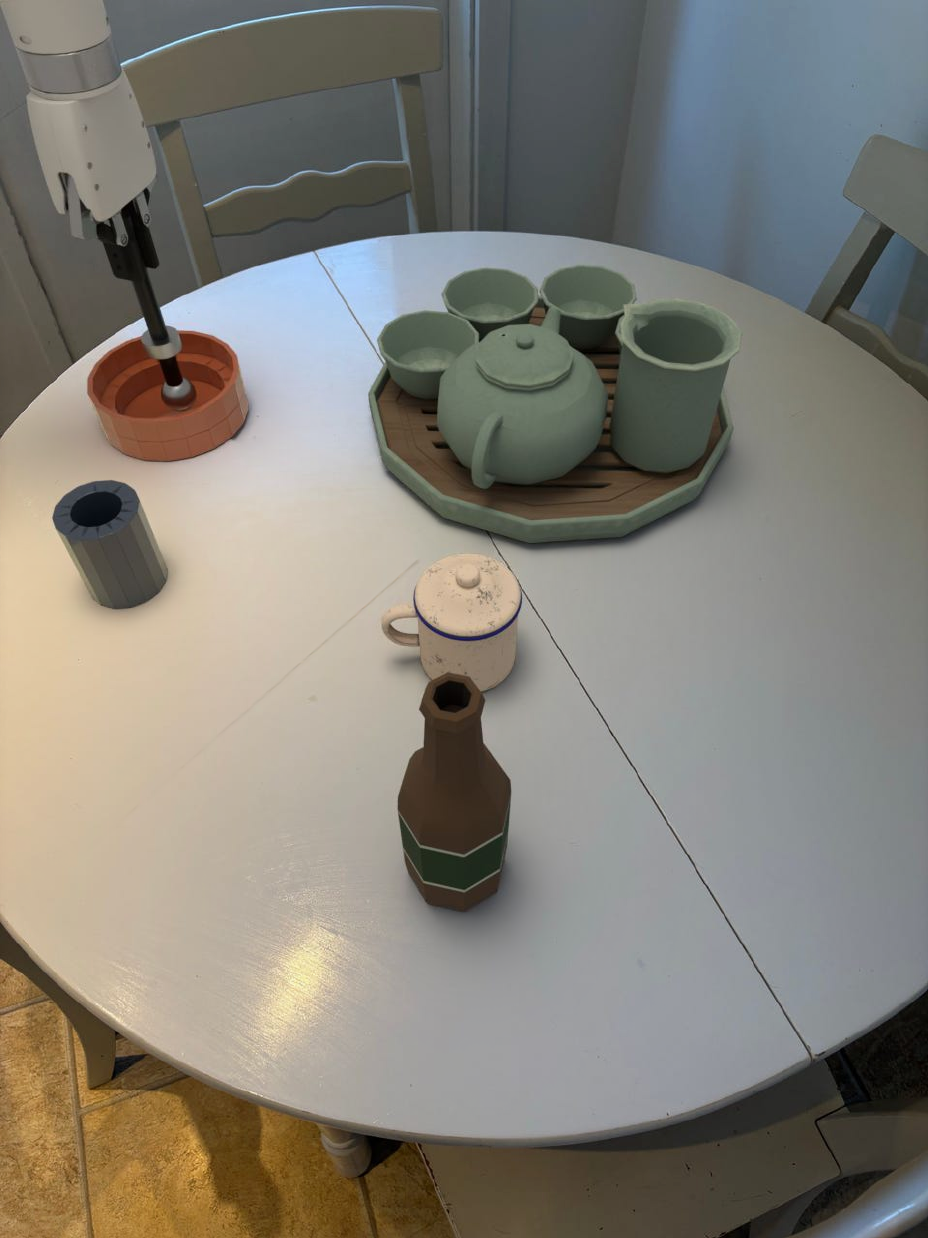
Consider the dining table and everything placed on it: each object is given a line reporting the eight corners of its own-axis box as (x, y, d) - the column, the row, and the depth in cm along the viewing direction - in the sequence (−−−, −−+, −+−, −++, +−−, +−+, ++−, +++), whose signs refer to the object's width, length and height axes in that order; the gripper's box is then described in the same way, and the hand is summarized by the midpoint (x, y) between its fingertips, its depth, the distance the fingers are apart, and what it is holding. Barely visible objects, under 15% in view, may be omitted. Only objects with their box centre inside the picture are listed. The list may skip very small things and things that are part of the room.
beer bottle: (446, 801, 72) (438, 618, 53) (526, 854, 69) (548, 681, 50) (385, 876, 68) (353, 708, 49) (468, 936, 65) (468, 782, 46)
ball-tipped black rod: (159, 409, 99) (90, 218, 82) (185, 392, 101) (123, 201, 84) (181, 423, 98) (115, 230, 81) (207, 405, 100) (149, 213, 82)
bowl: (75, 423, 101) (56, 380, 96) (187, 356, 109) (174, 313, 104) (166, 486, 95) (151, 442, 90) (278, 410, 102) (269, 366, 98)
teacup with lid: (513, 614, 84) (518, 528, 75) (522, 695, 78) (529, 612, 69) (385, 620, 83) (375, 534, 74) (386, 702, 78) (375, 620, 69)
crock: (75, 586, 86) (35, 513, 78) (136, 542, 90) (105, 468, 82) (122, 624, 83) (86, 552, 75) (184, 578, 87) (156, 504, 79)
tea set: (696, 321, 113) (726, 192, 100) (749, 554, 88) (798, 423, 75) (385, 316, 114) (375, 188, 101) (351, 546, 89) (332, 415, 76)
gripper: (87, 22, 77) (147, 226, 92) (-31, 95, 68) (56, 308, 83) (162, 32, 76) (211, 238, 90) (52, 108, 67) (126, 323, 81)
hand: (137, 270), depth 86 cm, fingers closed on ball-tipped black rod
